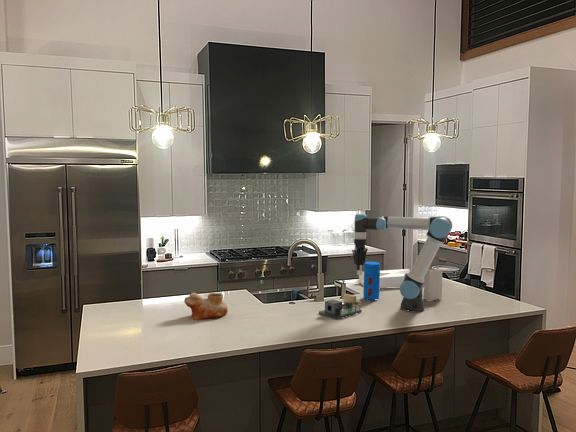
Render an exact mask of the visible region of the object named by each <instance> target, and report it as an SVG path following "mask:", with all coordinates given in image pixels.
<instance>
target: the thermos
mask: <svg viewBox="0 0 576 432" xmlns="http://www.w3.org/2000/svg"><path fill="white" fill-rule="evenodd" d="M380 271H381V263H380V262H378V261H365V263H364V265H363V272H364V286H363V290H362V291H363V300H365V299H368V300H375V299H379V300H380V290H379V287H380ZM368 300H367V301H368Z"/></svg>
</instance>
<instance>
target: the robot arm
mask: <svg viewBox="0 0 576 432" xmlns="http://www.w3.org/2000/svg"><path fill="white" fill-rule="evenodd" d="M386 229H396V230H397V229H399V230H420V231H426V240H425V242H424V243H423V246H422V248H421V250H420V252H419V254H418V256H417V258H416V260H415V263H414V264H413V266H412V268H411V269H410V272H409V273H405V275H404V280H403V282H402V284H401V285H400V288H399V293H400V295H401V297H403V298H402V299H401V303H400V309H401V308H402V309H404V310H403V311H405V310H409V311H408V312H411V311H420V312H423V311H422V310H424V309H426V308H425V304H424V298H423V291H424V286H423V284H424V279H423V278H424V276H425V274H426V272H427V270H428V269H429V266H430V265H432V262H433V260H434V258H435V256H436V255H437V252H438V250H439V249H440V247H441V244H445V242H446V240H447V239H448V236H449V235H450V233H451V231H452V229H453V222H452V220H451V219H450V218H449V217H447V216H445V215H442V216H441V215H439V216H428V217H410V216H385V215H378V216H377V217H368V216H367V214H365V213H357V214H355V216H354V230H353V231H354V235H353V236H354V239H353V244H354V249H352V250H351V252H352V255H353V262H354V265H355V266H356V276H359V275H362V272H363V266H364V263H365V262H366V258H367V252H368V251H369V250H368V248H366V244H367V230H370V231H371V230H372V231H385V230H386ZM402 309H401V310H402ZM424 311H425V310H424Z"/></svg>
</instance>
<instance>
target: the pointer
mask: <svg viewBox="0 0 576 432" xmlns="http://www.w3.org/2000/svg"><path fill="white" fill-rule="evenodd" d="M346 307H347V308H351V311H352V303H350V302H346Z"/></svg>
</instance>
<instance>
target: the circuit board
mask: <svg viewBox="0 0 576 432" xmlns="http://www.w3.org/2000/svg"><path fill="white" fill-rule="evenodd" d="M342 303H343V301H340V300H336V299H333V298H332V299H328V300H325V301H324V309H323V310H319V311H318V314H319V315H321V316H324V317H328V318H331V319H334V320H339V318H340V319H343V318H342V317H344V318H347V317H350V316H349V315H351V316H354V315H357V314H356V313H358V314H361V313H360V312H362V313H363V311H362V309H360V308H359V307H360V305H356V306H354V307H352V311H351V308H346V307H342ZM353 314H354V315H353ZM346 316H347V317H346Z"/></svg>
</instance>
